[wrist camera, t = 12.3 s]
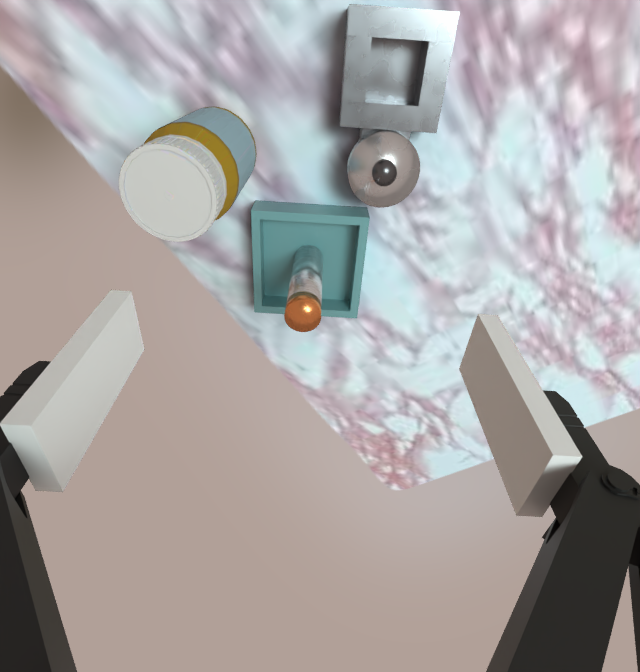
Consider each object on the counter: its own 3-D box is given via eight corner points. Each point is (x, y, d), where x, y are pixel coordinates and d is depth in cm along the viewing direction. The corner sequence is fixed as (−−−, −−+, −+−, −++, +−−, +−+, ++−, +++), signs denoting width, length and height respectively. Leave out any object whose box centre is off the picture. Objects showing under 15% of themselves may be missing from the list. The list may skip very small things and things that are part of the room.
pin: (294, 244, 43) (284, 299, 34) (323, 245, 43) (322, 301, 34) (294, 270, 45) (284, 330, 35) (322, 272, 45) (319, 332, 35)
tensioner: (414, 195, 41) (424, 213, 36) (333, 189, 41) (334, 207, 36) (446, 15, 33) (465, 10, 29) (347, 8, 33) (350, 2, 29)
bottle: (270, 171, 40) (243, 226, 28) (205, 198, 42) (153, 262, 29) (235, 91, 36) (186, 115, 24) (166, 125, 38) (86, 162, 26)
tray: (255, 200, 42) (251, 210, 39) (367, 207, 42) (369, 217, 39) (258, 298, 48) (254, 312, 45) (355, 304, 48) (356, 318, 45)
